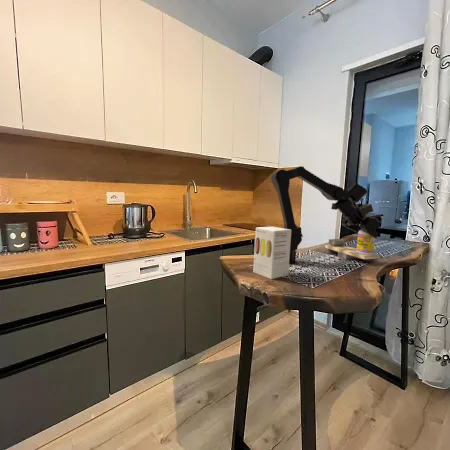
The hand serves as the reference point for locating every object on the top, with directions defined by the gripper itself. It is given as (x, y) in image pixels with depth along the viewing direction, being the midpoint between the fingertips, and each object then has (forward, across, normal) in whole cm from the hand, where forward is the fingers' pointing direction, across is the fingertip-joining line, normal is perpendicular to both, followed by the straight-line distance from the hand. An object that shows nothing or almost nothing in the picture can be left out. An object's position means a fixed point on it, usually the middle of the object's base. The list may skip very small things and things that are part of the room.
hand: (369, 235), depth 113 cm
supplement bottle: (+5, 0, +7) cm, 8 cm away
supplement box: (-26, -16, +43) cm, 53 cm away
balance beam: (+6, +8, +11) cm, 15 cm away
